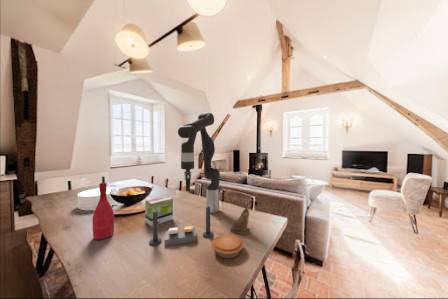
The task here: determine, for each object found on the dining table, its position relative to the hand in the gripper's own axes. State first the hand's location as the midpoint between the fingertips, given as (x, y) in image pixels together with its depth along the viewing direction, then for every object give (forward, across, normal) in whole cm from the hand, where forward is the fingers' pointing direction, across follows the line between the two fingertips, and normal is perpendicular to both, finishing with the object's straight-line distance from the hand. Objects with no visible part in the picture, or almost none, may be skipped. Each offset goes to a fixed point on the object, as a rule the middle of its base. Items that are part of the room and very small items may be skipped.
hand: (187, 190), depth 96 cm
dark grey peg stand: (+25, -5, -11) cm, 28 cm away
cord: (+25, -5, +17) cm, 31 cm away
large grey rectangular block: (+25, -5, +4) cm, 26 cm away
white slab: (+20, -5, +8) cm, 22 cm away
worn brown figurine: (+25, -6, -30) cm, 40 cm away
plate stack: (+26, +67, +72) cm, 101 cm away
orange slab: (+20, -5, 0) cm, 21 cm away
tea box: (+25, +21, +18) cm, 38 cm away
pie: (+26, -21, -18) cm, 38 cm away
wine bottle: (+25, +9, +46) cm, 53 cm away
